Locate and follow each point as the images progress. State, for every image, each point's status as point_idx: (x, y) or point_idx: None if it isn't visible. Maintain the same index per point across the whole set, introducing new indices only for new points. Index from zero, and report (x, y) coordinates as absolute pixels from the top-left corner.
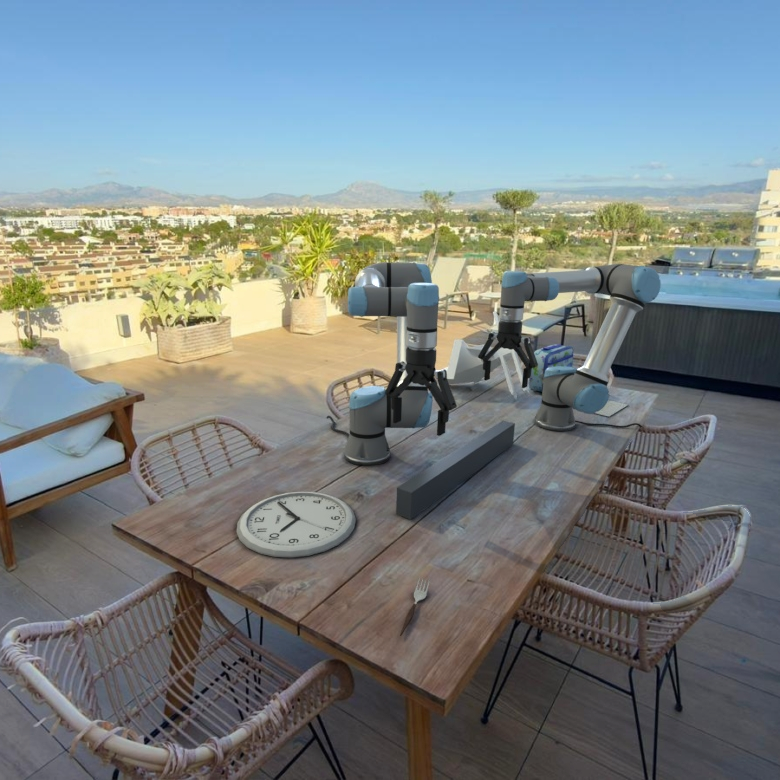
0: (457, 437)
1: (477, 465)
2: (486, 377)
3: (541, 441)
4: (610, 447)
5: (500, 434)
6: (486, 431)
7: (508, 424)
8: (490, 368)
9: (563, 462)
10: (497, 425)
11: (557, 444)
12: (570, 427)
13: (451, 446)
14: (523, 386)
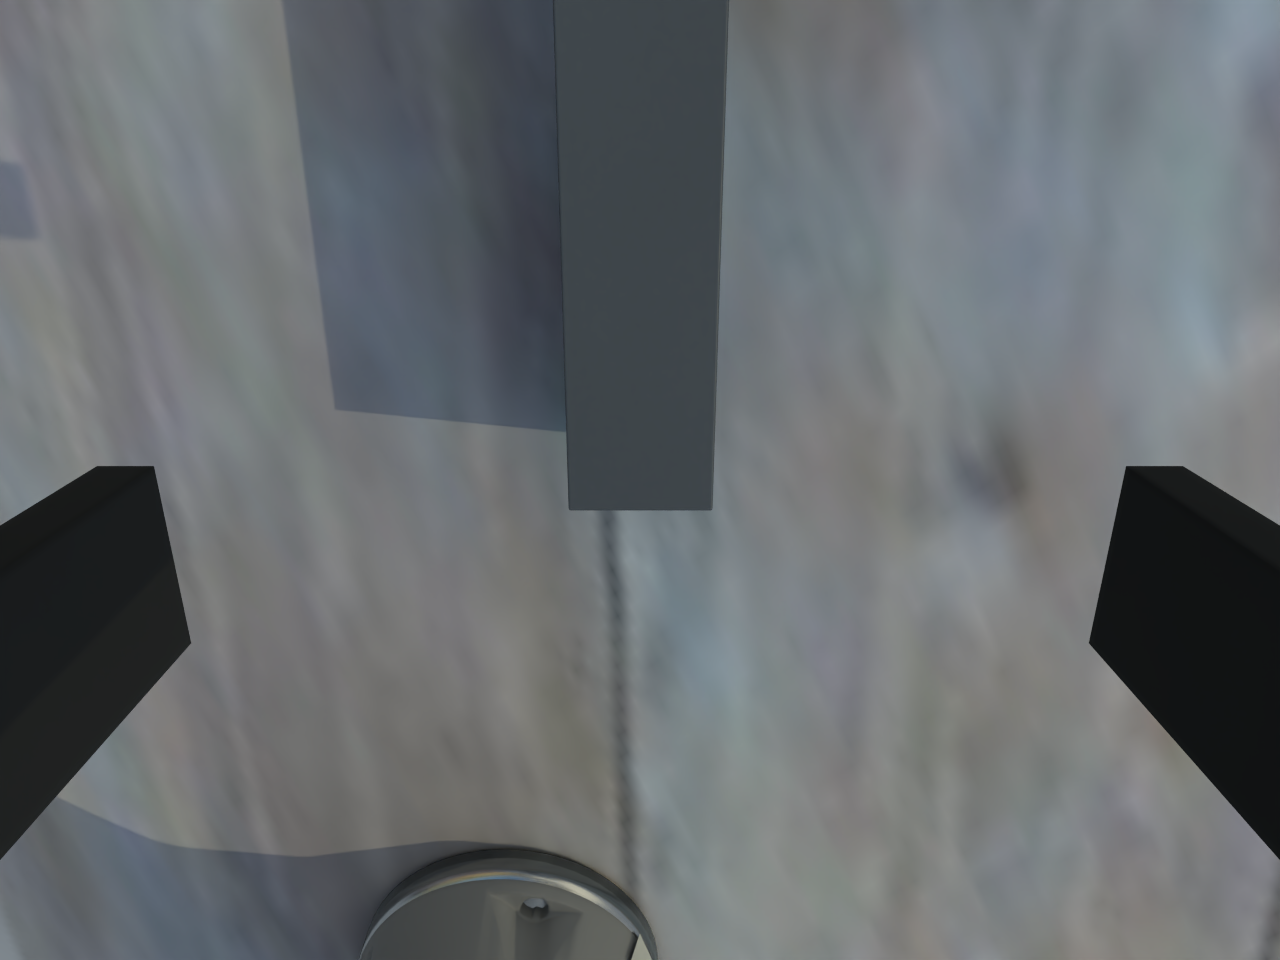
0: (1068, 261)
1: None
2: (1170, 509)
3: (432, 627)
4: None
5: (558, 128)
6: (714, 60)
7: (610, 441)
8: (1257, 831)
9: (91, 349)
10: (694, 336)
11: (311, 646)
12: (365, 940)
13: (1040, 10)
14: (87, 481)
